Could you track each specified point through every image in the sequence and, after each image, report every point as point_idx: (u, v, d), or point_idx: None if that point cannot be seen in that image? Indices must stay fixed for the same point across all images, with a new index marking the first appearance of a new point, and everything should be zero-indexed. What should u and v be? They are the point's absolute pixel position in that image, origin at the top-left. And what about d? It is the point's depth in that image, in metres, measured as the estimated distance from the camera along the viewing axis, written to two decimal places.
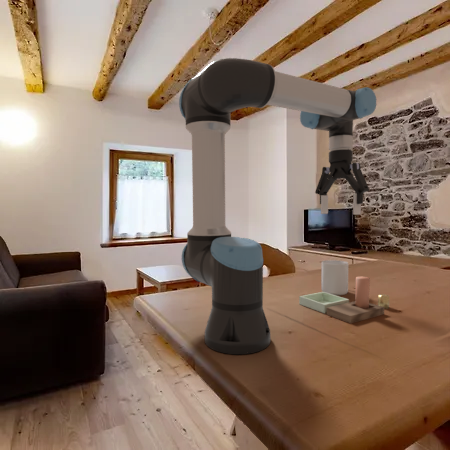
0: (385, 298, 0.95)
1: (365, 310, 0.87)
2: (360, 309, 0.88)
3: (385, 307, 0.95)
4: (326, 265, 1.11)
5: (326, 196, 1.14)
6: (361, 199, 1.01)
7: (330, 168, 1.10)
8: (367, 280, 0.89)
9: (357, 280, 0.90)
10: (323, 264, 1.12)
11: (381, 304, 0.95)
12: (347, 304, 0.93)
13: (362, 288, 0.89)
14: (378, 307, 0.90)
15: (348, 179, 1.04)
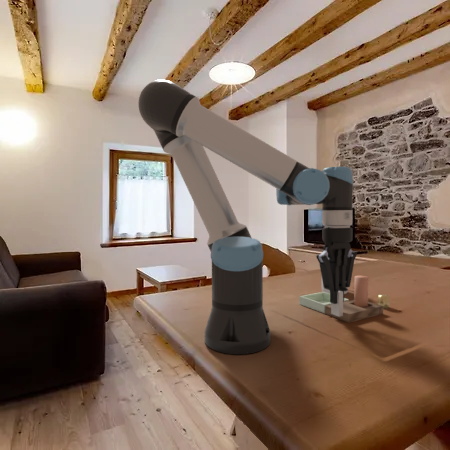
0: (385, 298, 0.95)
1: (363, 308, 0.88)
2: (358, 307, 0.89)
3: (385, 307, 0.95)
4: None
5: None
6: (332, 298, 0.85)
7: None
8: (366, 279, 0.89)
9: (356, 279, 0.91)
10: None
11: (381, 304, 0.95)
12: (346, 303, 0.93)
13: (360, 286, 0.90)
14: (377, 306, 0.90)
15: None
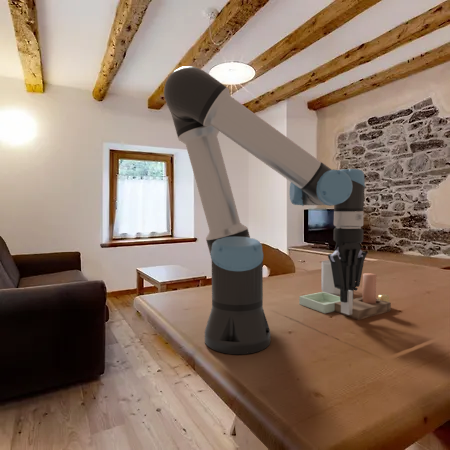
0: (385, 298, 0.95)
1: (372, 305, 0.90)
2: (367, 304, 0.91)
3: None
4: (326, 265, 1.11)
5: None
6: (342, 297, 0.87)
7: None
8: (374, 276, 0.92)
9: (364, 276, 0.93)
10: (323, 264, 1.12)
11: None
12: (354, 300, 0.95)
13: (369, 284, 0.92)
14: (385, 302, 0.93)
15: None
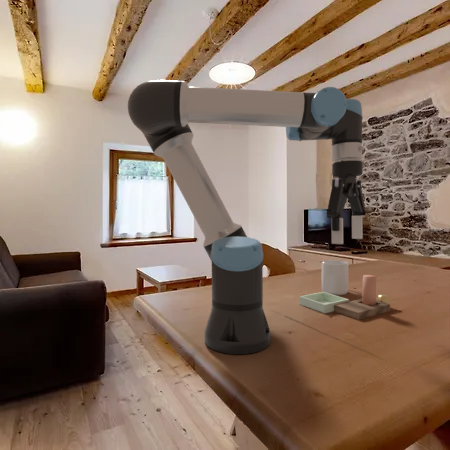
0: (385, 298, 0.95)
1: (372, 307, 0.90)
2: (367, 306, 0.91)
3: None
4: (326, 265, 1.11)
5: (358, 217, 0.91)
6: (334, 225, 0.80)
7: None
8: (374, 278, 0.92)
9: (364, 278, 0.93)
10: (323, 264, 1.12)
11: None
12: (354, 301, 0.95)
13: (369, 286, 0.92)
14: (384, 304, 0.93)
15: None
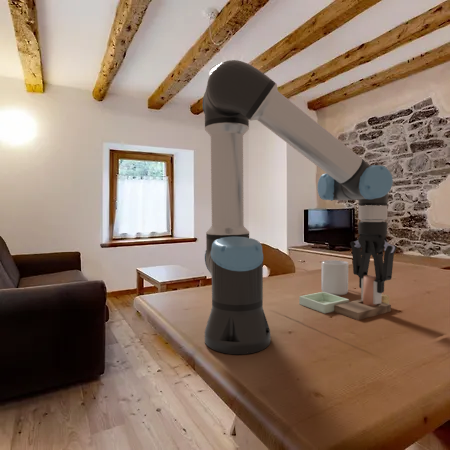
0: (385, 298, 0.95)
1: (372, 307, 0.90)
2: (367, 306, 0.91)
3: None
4: (326, 265, 1.11)
5: None
6: (382, 288, 0.90)
7: (359, 240, 0.95)
8: (375, 278, 0.91)
9: (365, 278, 0.92)
10: (323, 264, 1.12)
11: None
12: (355, 302, 0.95)
13: (370, 286, 0.91)
14: (385, 305, 0.92)
15: (375, 260, 0.90)
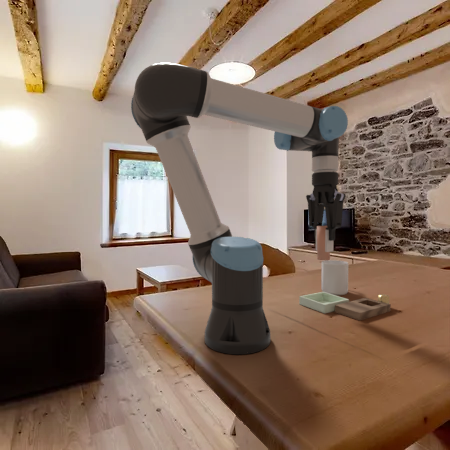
0: (385, 298, 0.95)
1: (373, 307, 0.90)
2: (368, 306, 0.91)
3: None
4: (326, 265, 1.11)
5: None
6: (333, 235, 0.94)
7: (314, 192, 0.98)
8: (326, 227, 0.95)
9: (317, 228, 0.96)
10: (323, 264, 1.12)
11: None
12: (354, 301, 0.95)
13: (322, 235, 0.95)
14: (384, 304, 0.92)
15: (327, 209, 0.94)
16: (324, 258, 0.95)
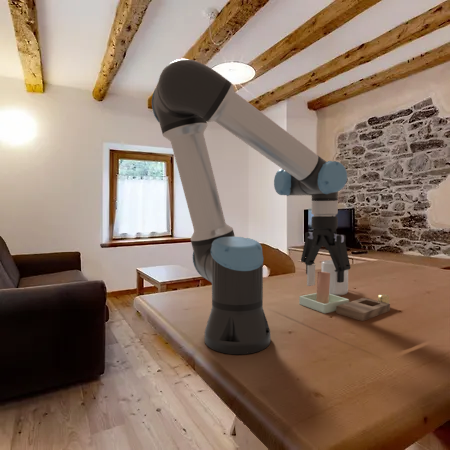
0: (385, 298, 0.95)
1: (374, 307, 0.90)
2: (369, 306, 0.90)
3: None
4: (326, 265, 1.11)
5: (313, 266, 1.02)
6: (342, 277, 0.92)
7: (313, 233, 0.99)
8: (327, 274, 0.96)
9: (318, 274, 0.97)
10: (323, 264, 1.12)
11: None
12: (354, 302, 0.95)
13: (322, 281, 0.96)
14: (384, 304, 0.93)
15: (330, 252, 0.93)
16: None
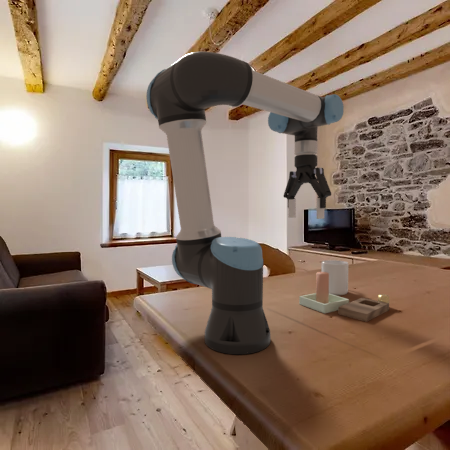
0: (385, 298, 0.95)
1: (375, 307, 0.90)
2: (370, 306, 0.90)
3: None
4: (326, 265, 1.11)
5: (293, 200, 1.16)
6: (324, 203, 1.03)
7: (296, 172, 1.12)
8: (326, 275, 0.95)
9: (317, 275, 0.96)
10: (323, 264, 1.12)
11: None
12: (355, 302, 0.94)
13: (321, 282, 0.95)
14: (384, 303, 0.93)
15: (312, 184, 1.05)
16: None
